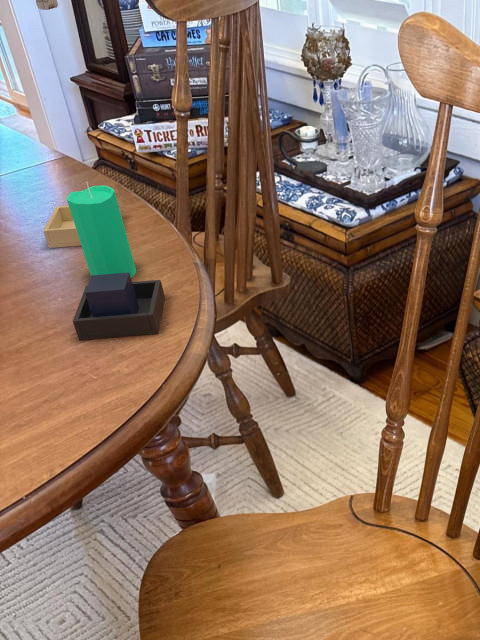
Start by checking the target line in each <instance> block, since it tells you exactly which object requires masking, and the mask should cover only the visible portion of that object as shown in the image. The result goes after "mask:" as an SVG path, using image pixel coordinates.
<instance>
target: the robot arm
mask: <svg viewBox="0 0 480 640" xmlns="http://www.w3.org/2000/svg"><path fill="white" fill-rule="evenodd" d="M35 5H36V7H37V8H38V9H39V10H42V11H43V10H44V11H49V10H53V9H56V8H58V7H59V2H58V0H35Z"/></svg>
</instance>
